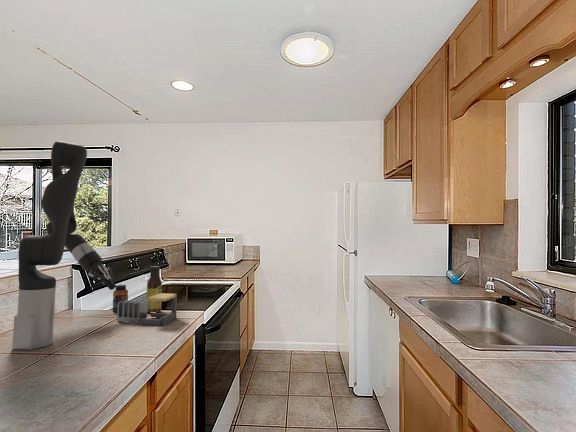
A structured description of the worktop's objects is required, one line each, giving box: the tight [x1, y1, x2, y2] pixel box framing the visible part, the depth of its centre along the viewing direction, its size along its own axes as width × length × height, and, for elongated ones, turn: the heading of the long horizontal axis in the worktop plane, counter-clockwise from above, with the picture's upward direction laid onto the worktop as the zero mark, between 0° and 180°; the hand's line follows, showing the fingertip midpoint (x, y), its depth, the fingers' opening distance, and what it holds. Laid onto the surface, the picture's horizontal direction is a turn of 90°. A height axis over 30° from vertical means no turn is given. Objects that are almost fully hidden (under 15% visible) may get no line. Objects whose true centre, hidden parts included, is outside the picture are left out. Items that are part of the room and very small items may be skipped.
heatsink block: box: [116, 299, 148, 323], centre depth 137 cm, size 6×9×8 cm, turn 83°
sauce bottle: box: [145, 265, 163, 313], centre depth 152 cm, size 6×6×20 cm
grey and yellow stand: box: [137, 292, 178, 327], centre depth 136 cm, size 11×10×10 cm
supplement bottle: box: [112, 284, 129, 312], centre depth 153 cm, size 6×6×11 cm
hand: (113, 288), depth 139 cm, fingers closed
